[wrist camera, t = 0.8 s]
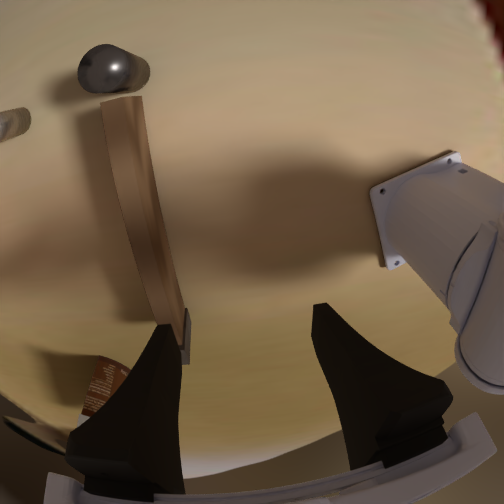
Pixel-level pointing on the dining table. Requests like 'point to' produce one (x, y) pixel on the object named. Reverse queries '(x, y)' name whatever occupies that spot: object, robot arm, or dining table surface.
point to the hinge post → (112, 70)
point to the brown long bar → (144, 214)
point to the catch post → (14, 123)
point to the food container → (102, 386)
